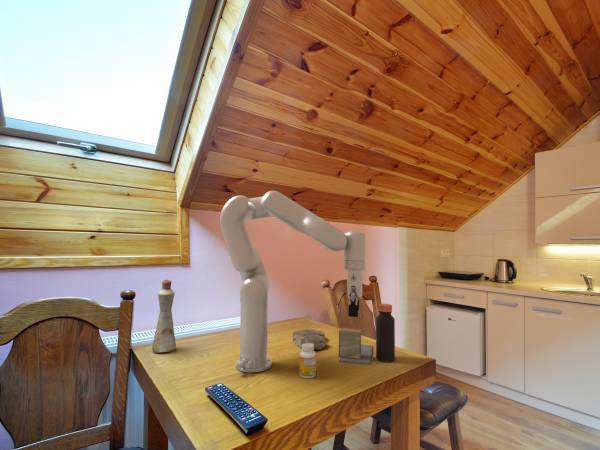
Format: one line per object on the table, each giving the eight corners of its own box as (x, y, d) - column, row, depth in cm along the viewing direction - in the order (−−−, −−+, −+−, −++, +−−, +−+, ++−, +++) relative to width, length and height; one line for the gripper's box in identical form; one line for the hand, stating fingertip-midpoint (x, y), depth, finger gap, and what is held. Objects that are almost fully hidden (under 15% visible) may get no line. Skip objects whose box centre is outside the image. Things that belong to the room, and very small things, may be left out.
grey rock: (330, 352, 123) (322, 336, 143) (330, 340, 124) (322, 325, 143) (294, 354, 122) (292, 337, 142) (294, 341, 122) (292, 326, 142)
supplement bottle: (299, 371, 105) (299, 342, 105) (315, 371, 105) (315, 342, 105) (299, 378, 99) (299, 347, 100) (316, 378, 99) (316, 347, 100)
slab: (360, 359, 114) (360, 331, 115) (338, 357, 116) (338, 330, 117) (361, 355, 118) (361, 328, 119) (340, 353, 120) (340, 327, 121)
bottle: (151, 355, 117) (153, 281, 119) (152, 348, 126) (154, 278, 127) (176, 352, 121) (178, 280, 122) (175, 345, 129) (177, 277, 131)
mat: (370, 365, 110) (370, 363, 110) (339, 361, 113) (339, 360, 113) (372, 346, 130) (372, 345, 130) (345, 344, 133) (345, 342, 133)
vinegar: (378, 354, 121) (378, 302, 122) (396, 357, 118) (396, 304, 119) (374, 360, 115) (374, 305, 116) (393, 363, 112) (392, 307, 113)
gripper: (364, 267, 103) (364, 320, 102) (365, 264, 120) (365, 309, 119) (341, 267, 105) (341, 318, 104) (345, 263, 122) (345, 307, 121)
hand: (353, 313), depth 112 cm, fingers open, 9 cm apart
